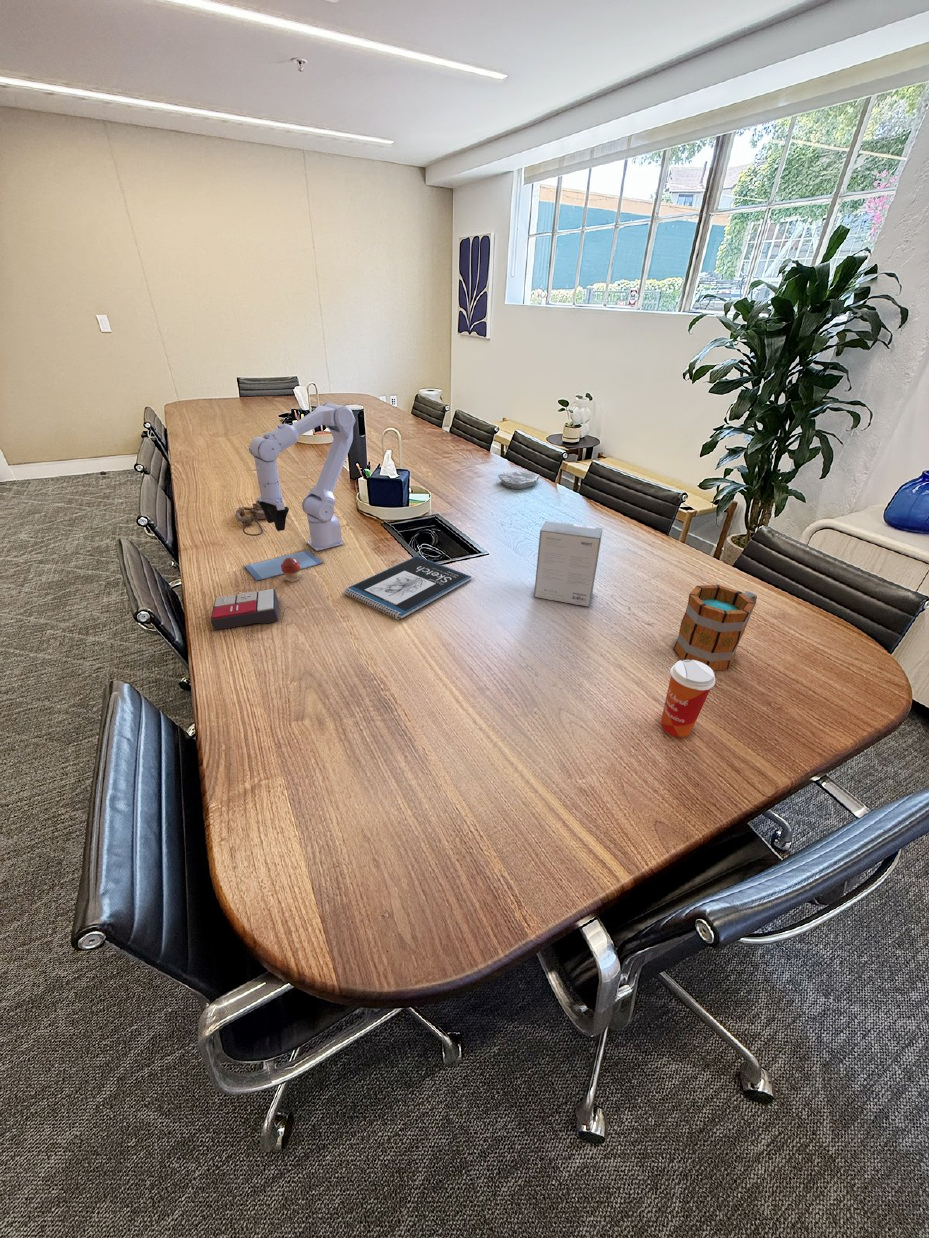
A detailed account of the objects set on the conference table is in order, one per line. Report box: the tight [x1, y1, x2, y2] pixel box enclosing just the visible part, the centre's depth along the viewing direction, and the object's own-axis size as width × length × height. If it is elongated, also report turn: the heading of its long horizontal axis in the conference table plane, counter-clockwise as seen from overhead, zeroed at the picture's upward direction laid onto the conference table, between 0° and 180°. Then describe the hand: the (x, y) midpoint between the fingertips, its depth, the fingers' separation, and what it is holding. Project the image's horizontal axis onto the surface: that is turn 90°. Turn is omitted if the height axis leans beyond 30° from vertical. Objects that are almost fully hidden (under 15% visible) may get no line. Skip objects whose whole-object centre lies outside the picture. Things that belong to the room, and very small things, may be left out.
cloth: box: [244, 549, 323, 582], centre depth 155 cm, size 20×11×1 cm, turn 127°
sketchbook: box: [343, 555, 472, 621], centre depth 144 cm, size 22×30×2 cm
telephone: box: [235, 500, 267, 537], centre depth 183 cm, size 15×33×4 cm, turn 23°
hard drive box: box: [533, 520, 604, 607], centre depth 137 cm, size 16×8×20 cm, turn 71°
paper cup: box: [660, 659, 716, 738], centre depth 96 cm, size 8×8×14 cm
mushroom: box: [281, 557, 302, 583], centre depth 146 cm, size 5×5×7 cm
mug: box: [672, 584, 758, 671], centre depth 118 cm, size 20×14×15 cm
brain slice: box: [497, 470, 541, 490], centre depth 227 cm, size 20×17×3 cm
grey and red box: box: [210, 588, 279, 631], centre depth 130 cm, size 11×4×15 cm
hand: (276, 526), depth 154 cm, fingers open, 7 cm apart
